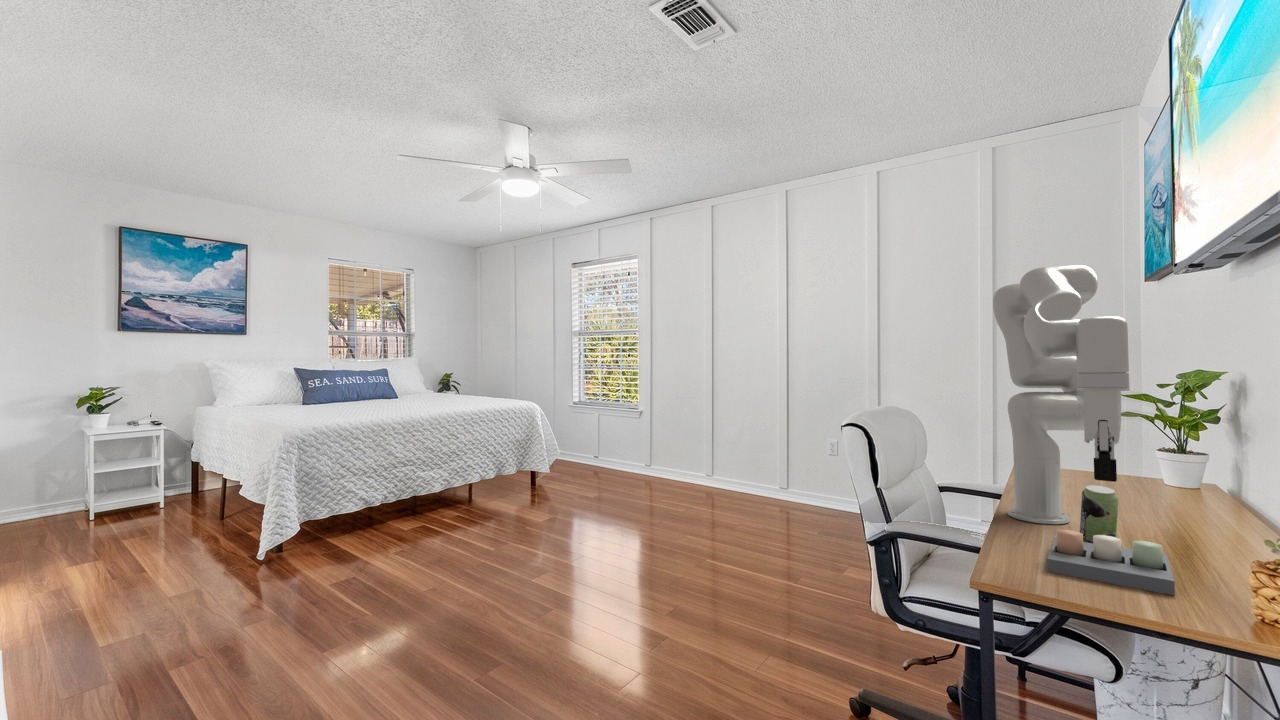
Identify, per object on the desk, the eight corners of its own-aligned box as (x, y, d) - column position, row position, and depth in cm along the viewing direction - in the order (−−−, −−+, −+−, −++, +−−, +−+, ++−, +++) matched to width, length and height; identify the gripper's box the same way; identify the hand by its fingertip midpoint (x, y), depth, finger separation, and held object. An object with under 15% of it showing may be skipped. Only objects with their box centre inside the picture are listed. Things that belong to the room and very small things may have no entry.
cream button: (1093, 552, 104) (1093, 533, 104) (1121, 557, 102) (1121, 537, 102) (1093, 558, 101) (1092, 538, 101) (1121, 563, 99) (1121, 543, 99)
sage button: (1132, 559, 101) (1131, 539, 101) (1162, 564, 98) (1161, 543, 98) (1133, 565, 98) (1132, 544, 98) (1163, 570, 95) (1163, 549, 95)
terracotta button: (1057, 547, 108) (1057, 528, 108) (1083, 551, 105) (1083, 532, 105) (1056, 552, 105) (1055, 533, 105) (1083, 556, 102) (1082, 537, 102)
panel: (1054, 548, 113) (1054, 537, 113) (1167, 567, 102) (1167, 554, 102) (1047, 571, 101) (1047, 558, 101) (1174, 595, 90) (1174, 581, 90)
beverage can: (1102, 536, 121) (1100, 482, 121) (1128, 547, 113) (1127, 490, 114) (1072, 536, 121) (1070, 482, 122) (1096, 547, 114) (1094, 490, 114)
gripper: (1078, 381, 110) (1081, 471, 110) (1074, 383, 99) (1077, 484, 98) (1128, 381, 105) (1131, 476, 105) (1130, 384, 94) (1133, 490, 93)
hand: (1105, 479), depth 102 cm, fingers closed
